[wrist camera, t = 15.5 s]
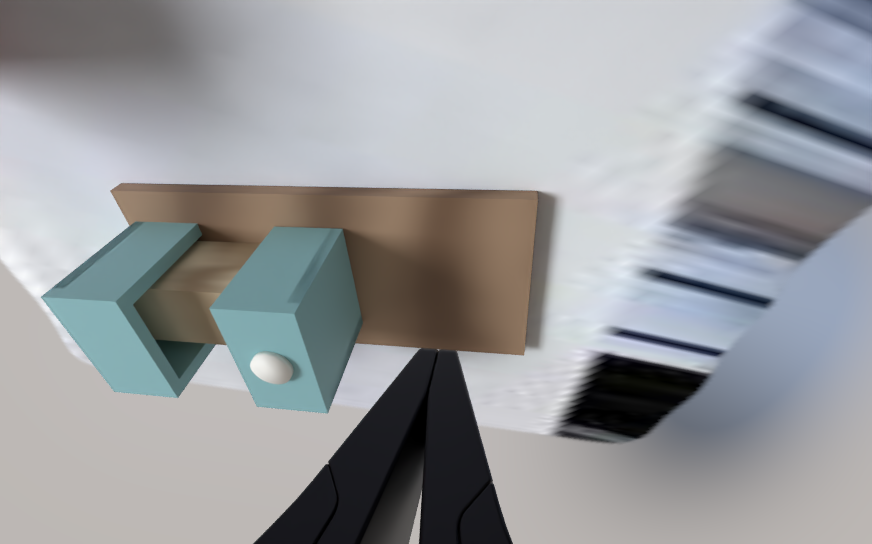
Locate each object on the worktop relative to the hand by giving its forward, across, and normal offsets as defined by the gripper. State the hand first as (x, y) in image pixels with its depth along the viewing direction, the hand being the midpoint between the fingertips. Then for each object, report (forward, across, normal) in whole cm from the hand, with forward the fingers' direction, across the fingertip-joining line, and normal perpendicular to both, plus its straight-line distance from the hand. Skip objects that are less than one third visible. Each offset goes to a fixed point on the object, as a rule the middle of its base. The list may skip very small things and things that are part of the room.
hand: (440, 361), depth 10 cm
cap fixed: (+11, +16, +7) cm, 21 cm away
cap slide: (+11, +8, +7) cm, 16 cm away
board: (+12, +8, +7) cm, 16 cm away
